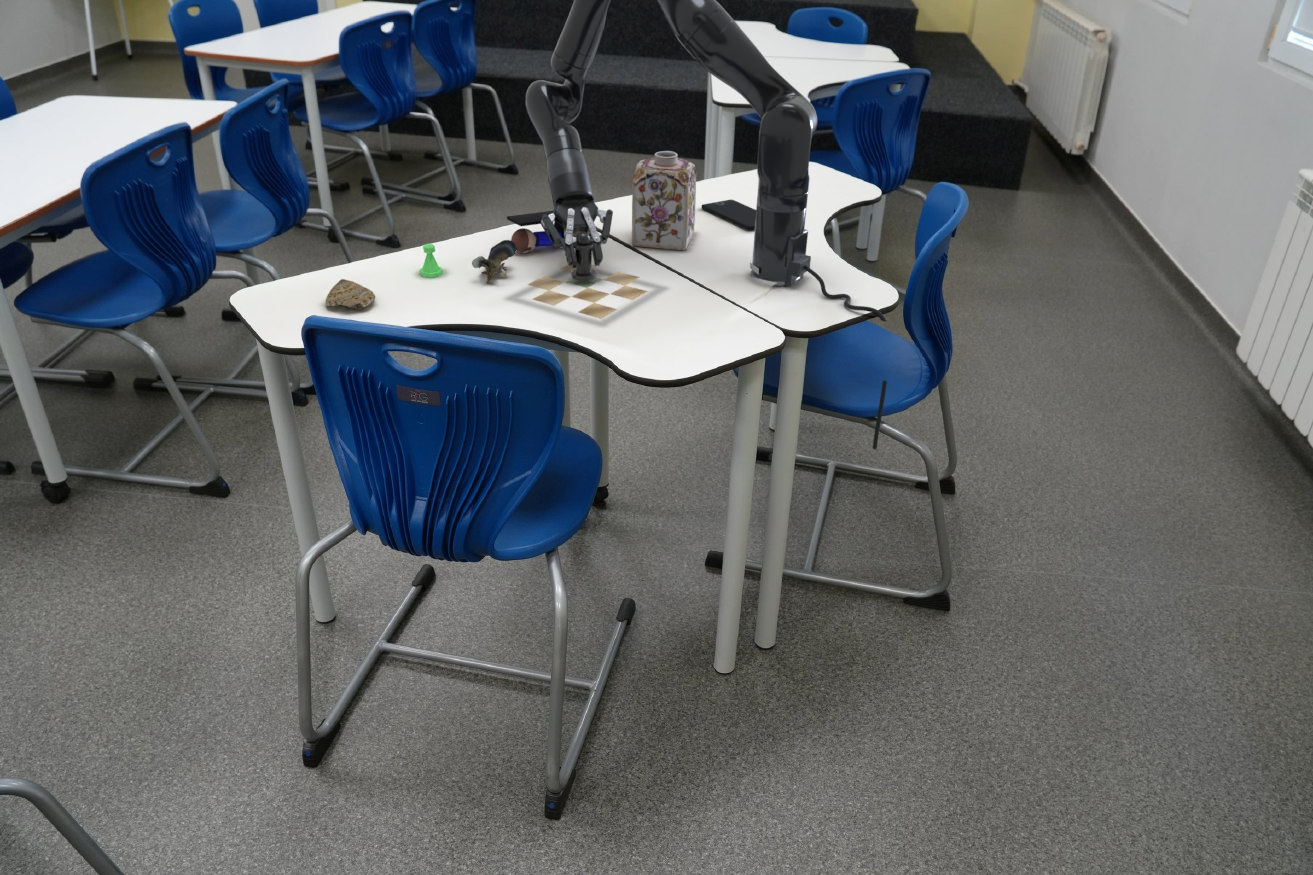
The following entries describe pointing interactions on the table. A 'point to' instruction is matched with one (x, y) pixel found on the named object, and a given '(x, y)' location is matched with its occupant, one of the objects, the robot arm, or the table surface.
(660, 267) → the table surface
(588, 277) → the black chess piece
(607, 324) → the table surface
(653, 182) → the decorative jar
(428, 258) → the game piece
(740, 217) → the cell phone
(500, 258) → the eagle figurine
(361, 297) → the brown rock
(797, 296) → the table surface
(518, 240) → the figurine character
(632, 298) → the chess board
